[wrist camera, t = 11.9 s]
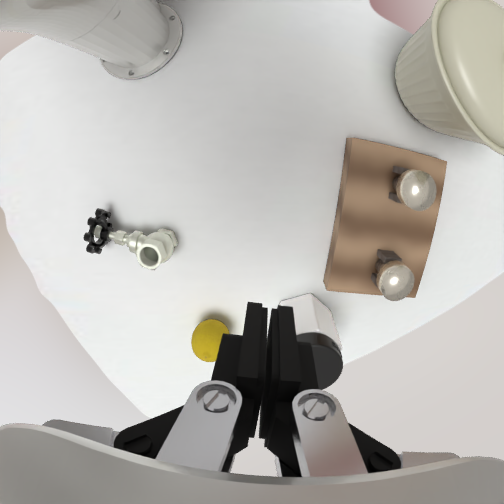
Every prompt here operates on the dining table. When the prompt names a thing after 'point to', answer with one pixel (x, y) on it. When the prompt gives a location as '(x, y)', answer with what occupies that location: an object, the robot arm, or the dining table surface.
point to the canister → (457, 72)
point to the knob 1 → (415, 189)
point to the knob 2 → (394, 279)
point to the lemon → (208, 339)
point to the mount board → (379, 217)
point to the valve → (131, 241)
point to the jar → (318, 336)
